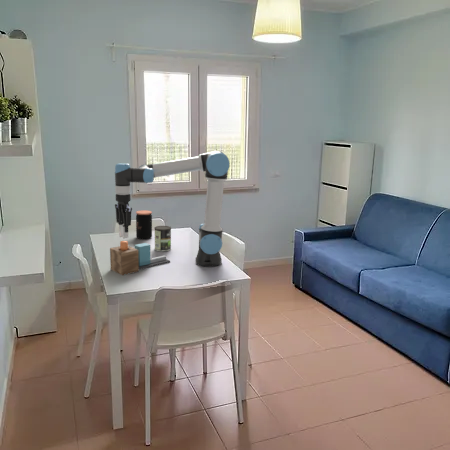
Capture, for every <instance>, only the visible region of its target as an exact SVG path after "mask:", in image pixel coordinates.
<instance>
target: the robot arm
mask: <svg viewBox="0 0 450 450" xmlns="http://www.w3.org/2000/svg"><path fill="white" fill-rule="evenodd" d="M230 166H231V165H230V159H229V158H228V156H227V155H226V154H225V153H224V152H222V151H220V150H212V151H209V152H204V153H200V154H198V155H197V156H193V157H187V158H181V159H174V160H168V161H167V160H166V161H163V162H157V163H156V162H155V163H149V164H141V165H140V166H139V167H131V165H130V163H127V162H126V163H125V162H122V163H121V162H120V163H116V164H115V165H114V180H115V181H114V182H115V184H114V185H115V186H114V187H115V189H114V190H115V191H114V192H115V201H116V202H117V203H116V204H114V208H115V219H116V223H117V224H118V231H119V238H123V239H129V227H130V226H132V212H133V211H132V210H133V208H132V207H130V204H129V202H131V200H132V199H131V194H130V193H131V183H143V184H144V183H145V184H147V183H148V184H151V183H154V181H155V180H154V179H155V178H159V177H161V178H162V177H165V176H166V177H167V176H172V175H178V174H179V175H180V174H186V173H193V172H199V171H201V172H202V173H204V172H205V173H204V174H205V176H204V178H205V179H206V180H207V183H206V185H207V186H206V198H205V208H204V209H205V210H204V223H201V224H199V226H198V227H199V228H198V250H197V254H196V257H195V264H196V265H198V266H201V267H218V266H220V265H222V261H223V260H222V256H221V253H220V251H221V249H222V247H223V240H222V239H223V228H222V227H221V218H222V208H223V197H224V185H225V181H227V180H228V173H229V170H230Z"/></svg>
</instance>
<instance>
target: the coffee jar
mask: <svg viewBox="0 0 450 450" xmlns="http://www.w3.org/2000/svg"><path fill="white" fill-rule="evenodd" d="M152 213H153V211H151V210H145V209H143V210H137V211H136V212H135V220H136V221H135V222H136V223H135V227H136V228H135V229H136V230H135V231H136V232H135V233H136V235H135V236H136V238H137V239H139V240H150V239H151V238H152V237H153V215H152Z"/></svg>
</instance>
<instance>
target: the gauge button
mask: <svg viewBox="0 0 450 450" xmlns="http://www.w3.org/2000/svg"><path fill="white" fill-rule="evenodd" d="M119 244H120V250H121V251H125V250H128V246H129V241H128V240H120V241H119Z"/></svg>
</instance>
